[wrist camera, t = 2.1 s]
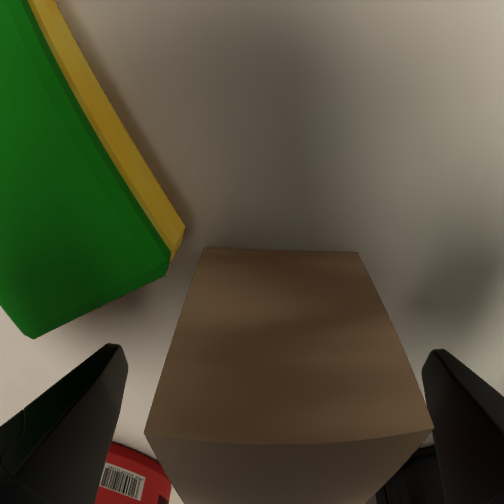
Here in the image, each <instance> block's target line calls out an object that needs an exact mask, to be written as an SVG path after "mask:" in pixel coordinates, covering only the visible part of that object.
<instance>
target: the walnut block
mask: <svg viewBox="0 0 504 504" xmlns="http://www.w3.org/2000/svg"><path fill="white" fill-rule="evenodd" d="M433 429H434V425H433V422H432V420H431V417H430V414H429V411H428V409H427V406H426V403H425V401H424V398H423V396H422V393H421V390H420V388H419V385H418V383H417V380H416V378H415V375H414V373H413V370H412V368H411V366H410V363H409V361H408V358H407V356H406V354H405V351H404V349H403V347H402V344H401V342H400V340H399V338H398V335H397V333H396V331H395V329H394V327H393V324H392V322H391V320H390V318H389V316H388V313H387V311H386V309H385V307H384V305H383V303H382V301H381V299H380V297H379V295H378V292H377V290H376V288H375V286H374V284H373V282H372V280H371V278H370V276H369V274H368V272H367V270H366V268H365V266H364V264H363V263H362V261H361V259H360V257H359V255H358V253H357V252H324V251H290V250H256V249H221V248H204V249H203V251H202V254H201V257H200V260H199V263H198V265H197V268H196V271H195V274H194V277H193V279H192V282H191V285H190V288H189V291H188V294H187V297H186V300H185V303H184V306H183V309H182V311H181V314H180V317H179V320H178V323H177V326H176V329H175V332H174V336H173V339H172V342H171V345H170V348H169V351H168V354H167V357H166V360H165V363H164V367H163V370H162V373H161V376H160V380H159V383H158V386H157V389H156V393H155V396H154V399H153V403H152V406H151V409H150V413H149V416H148V420H147V423H146V426H145V430H144V434H145V436H146V438H147V440H148V442H149V444H150V446H151V448H152V450H153V452H154V453H155V455H156V457H157V459H158V461H159V463H160V464H161V466H162V468H163V470H164V471H165V473H166V475H167V477H168V478H169V480H170V482H171V483H172V485H173V487H174V488H175V490H176V492H177V493H178V495H179V496H180V498H181V500H182V501H183V503H184V504H364V503H365V502H366V501H368V500H369V499H370V498H371V497H372V496H373V495H374V494H375V493H376V492H377V491H378V490H379V489H380V488H381V487H382V486H383V485H384V484H385V483H386V482H387V481H388V480H389V479H390V478H391V477H392V476H393V475H394V474H395V473H396V472H397V471H398V470H399V469H400V468H401V467H402V466H403V464H404V463H405V462H406V461H407V460H408V459H409V458H410V457H411V456H412V454H413V453H414V452H415V451H416V450H417V449H418V447H419V446H420V445H421V444H422V443H423V442H424V440H425V439H426V438H427V437H428V435H429V434H430V433H431V432H432V430H433Z"/></svg>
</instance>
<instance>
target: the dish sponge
mask: <svg viewBox="0 0 504 504" xmlns="http://www.w3.org/2000/svg"><path fill="white" fill-rule="evenodd" d="M185 227H186V226H185V225H184V223H183V222H182V220H181V219H180V217H179V215H178V214H177V212H176V211H175V209H174V208H173V206H172V204H171V203H170V201H169V200H168V198H167V196H166V195H165V193H164V192H163V190H162V188H161V187H160V185H159V184H158V182H157V180H156V179H155V177H154V176H153V174H152V172H151V171H150V169H149V167H148V166H147V164H146V162H145V161H144V159H143V158H142V156H141V154H140V153H139V151H138V149H137V148H136V146H135V144H134V143H133V141H132V139H131V138H130V136H129V134H128V133H127V131H126V129H125V127H124V126H123V124H122V122H121V121H120V119H119V117H118V116H117V114H116V112H115V110H114V109H113V107H112V105H111V104H110V102H109V100H108V98H107V97H106V95H105V93H104V91H103V90H102V88H101V86H100V84H99V82H98V81H97V79H96V77H95V75H94V74H93V72H92V70H91V68H90V66H89V65H88V63H87V61H86V59H85V57H84V55H83V54H82V52H81V50H80V48H79V46H78V44H77V43H76V41H75V39H74V37H73V35H72V33H71V31H70V29H69V27H68V26H67V24H66V22H65V20H64V18H63V16H62V14H61V12H60V10H59V8H58V6H57V4H56V2H55V0H0V306H1V307H2V308H3V310H4V311H5V312H6V313H7V315H8V316H9V317H10V318H11V320H12V321H13V322H14V323H15V325H16V326H17V327H18V328H19V329H20V331H21V332H22V333H23V334H24V335H26V336H28V337H30V338H32V339H36V338H38V337H40V336H42V335H44V334H46V333H48V332H50V331H52V330H54V329H56V328H58V327H60V326H62V325H64V324H66V323H68V322H70V321H72V320H74V319H76V318H78V317H80V316H82V315H84V314H86V313H88V312H90V311H92V310H94V309H97V308H99V307H101V306H103V305H105V304H107V303H109V302H111V301H113V300H115V299H117V298H119V297H121V296H123V295H126V294H128V293H130V292H132V291H134V290H136V289H138V288H140V287H142V286H144V285H146V284H149V283H151V282H153V281H155V280H157V279H159V278H161V277H163V276H165V274H166V272H167V270H168V267H169V264H170V263H171V262H172V260H173V258H174V256H175V254H176V252H177V250H178V248H179V246H180V244H181V242H182V240H183V235H184V231H185Z"/></svg>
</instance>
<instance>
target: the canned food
mask: <svg viewBox="0 0 504 504" xmlns="http://www.w3.org/2000/svg"><path fill="white" fill-rule="evenodd" d="M170 492H171V482H170V480H169V478H168V477H167V475H166V473H165V471H164V470H163V468H162V466H161V464H159V463H158V462H156V461H155V460H153V459H151V458H149V457H147V456H146V455H143V454H141V453H139V452H137V451H134V450H132V449H130V448H127V447H124V446H121V445H119V444H116V443H112V442H111V445H110V448H109V451H108V455H107V459H106V462H105V466H104V469H103V473H102V477H101V481H100V484H99V488H98V492H97V496H96V500H95V504H169V498H170Z"/></svg>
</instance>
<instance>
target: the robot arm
mask: <svg viewBox="0 0 504 504" xmlns="http://www.w3.org/2000/svg"><path fill="white" fill-rule="evenodd" d="M127 374H128V363H127V360H126V357H125V354H124V351H123V349H122V347H121V346H120V345H118V344H111V343H108V344H106V345H104V346H103V347H102V348H100V349H99V350H98V351H97V352H95V353H94V354H93V355H91V356H90V357H89V358H87V359H86V360H85V361H84V362H82V363H81V364H80V365H78V366H77V367H76V368H75V369H73V370H72V371H71V372H69V373H68V374H67V375H66V376H64V377H63V378H62V379H60V380H59V381H58V382H57V383H55V384H54V385H53V386H52V387H50V388H49V389H48V390H46V391H45V392H44V393H43V394H41V395H40V396H39V397H38V398H36V399H35V400H34V401H33V402H31V403H30V404H29V405H27V406H26V407H25V408H24V410H21V411H20V412H19V413H17V414H16V415H15V416H13V417H12V418H11V419H10V420H8V421H7V422H6V423H4V424H3V425H1V426H0V504H95V500H96V496H97V492H98V488H99V484H100V481H101V477H102V473H103V469H104V466H105V462H106V459H107V455H108V451H109V448H110V445H111V441H112V438H113V434H114V431H115V428H116V424H117V421H118V418H119V414H120V409H121V404H122V399H123V393H124V388H125V383H126V379H127ZM422 381H423V386H424V392H425V398H426V405H427V409H428V411H429V414H430V417H431V420H432V422H433V425H434V429H433V430H432V434H433V438H434V443H435V447H432V448H428V449H423V450H419V451H415V452H414V453H413V454H412V456H411V457H410V458H409V459H408V460H407V461H406V462H405V463H404V464H403V466H402V467H401V468H400V469H399V470H398V471H397V472H396V473H395V474H394V475H393V476H392V477H391V478H390V479H389V480H388V481H387V482H386V483H385V484H384V485H383V486H382V487H381V488H380V489H379V490H378V491H377V492H376V493H375V494H374V495H373V496H372V497H371V498H370V499H369V500H368V501H366V502H365V503H364V504H504V397H503V396H502V395H501V394H500V393H499V392H497V391H496V390H495V389H494V388H493V387H491V386H490V385H489V384H488V383H486V382H485V381H484V380H483V379H482V378H480V377H479V376H478V375H477V374H475V373H474V372H473V371H472V370H470V369H469V368H468V367H467V366H465V365H464V364H463V363H462V362H460V361H459V360H458V359H457V358H455V357H454V356H453V355H451V354H450V353H449V352H448V351H446V350H445V349H434V350H432V351H431V352H430V354H429V356H428V358H427V360H426V362H425V364H424V366H423V368H422Z"/></svg>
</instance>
